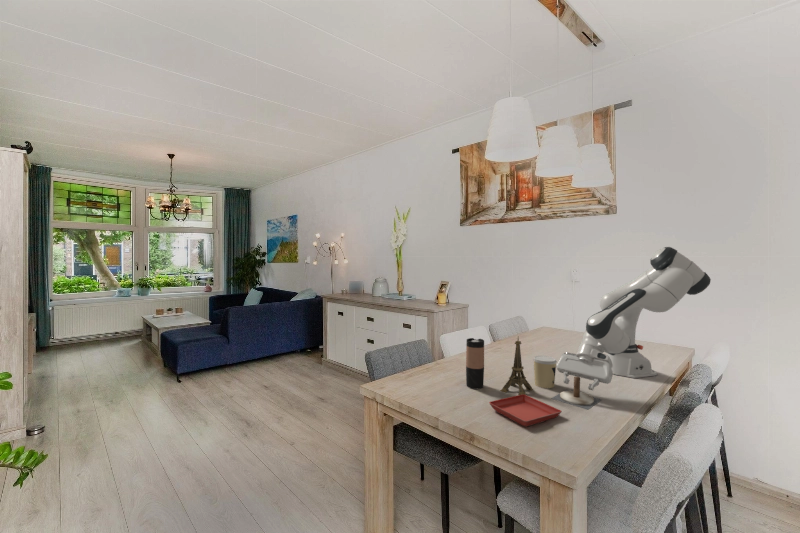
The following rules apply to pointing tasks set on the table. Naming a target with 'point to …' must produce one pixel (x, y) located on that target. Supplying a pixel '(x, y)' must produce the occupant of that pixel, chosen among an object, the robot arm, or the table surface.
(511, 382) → the eiffel tower
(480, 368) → the travel mug
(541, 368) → the coffee cup
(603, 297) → the robot arm
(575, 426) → the table surface
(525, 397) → the plant saucer
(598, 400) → the mat
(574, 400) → the lid
